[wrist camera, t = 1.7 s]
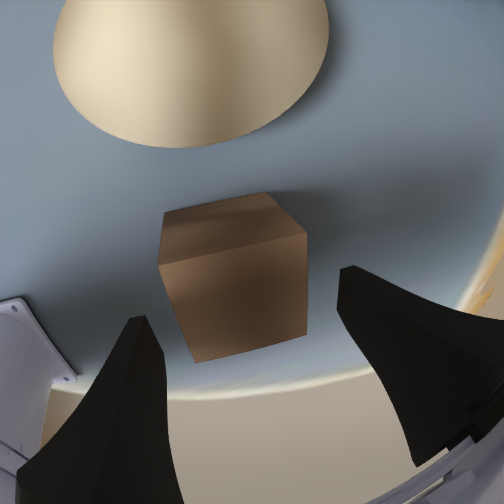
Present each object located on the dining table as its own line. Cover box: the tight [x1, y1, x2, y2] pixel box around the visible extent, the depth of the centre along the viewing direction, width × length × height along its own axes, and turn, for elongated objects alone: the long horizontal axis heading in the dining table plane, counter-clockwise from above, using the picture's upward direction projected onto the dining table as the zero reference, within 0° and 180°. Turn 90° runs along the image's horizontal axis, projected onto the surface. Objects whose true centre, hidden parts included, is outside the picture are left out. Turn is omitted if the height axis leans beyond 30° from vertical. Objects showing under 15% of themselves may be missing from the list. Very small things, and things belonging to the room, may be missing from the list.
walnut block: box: [158, 192, 308, 363], centre depth 12 cm, size 5×5×5 cm
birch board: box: [53, 0, 329, 148], centre depth 8 cm, size 11×11×2 cm
